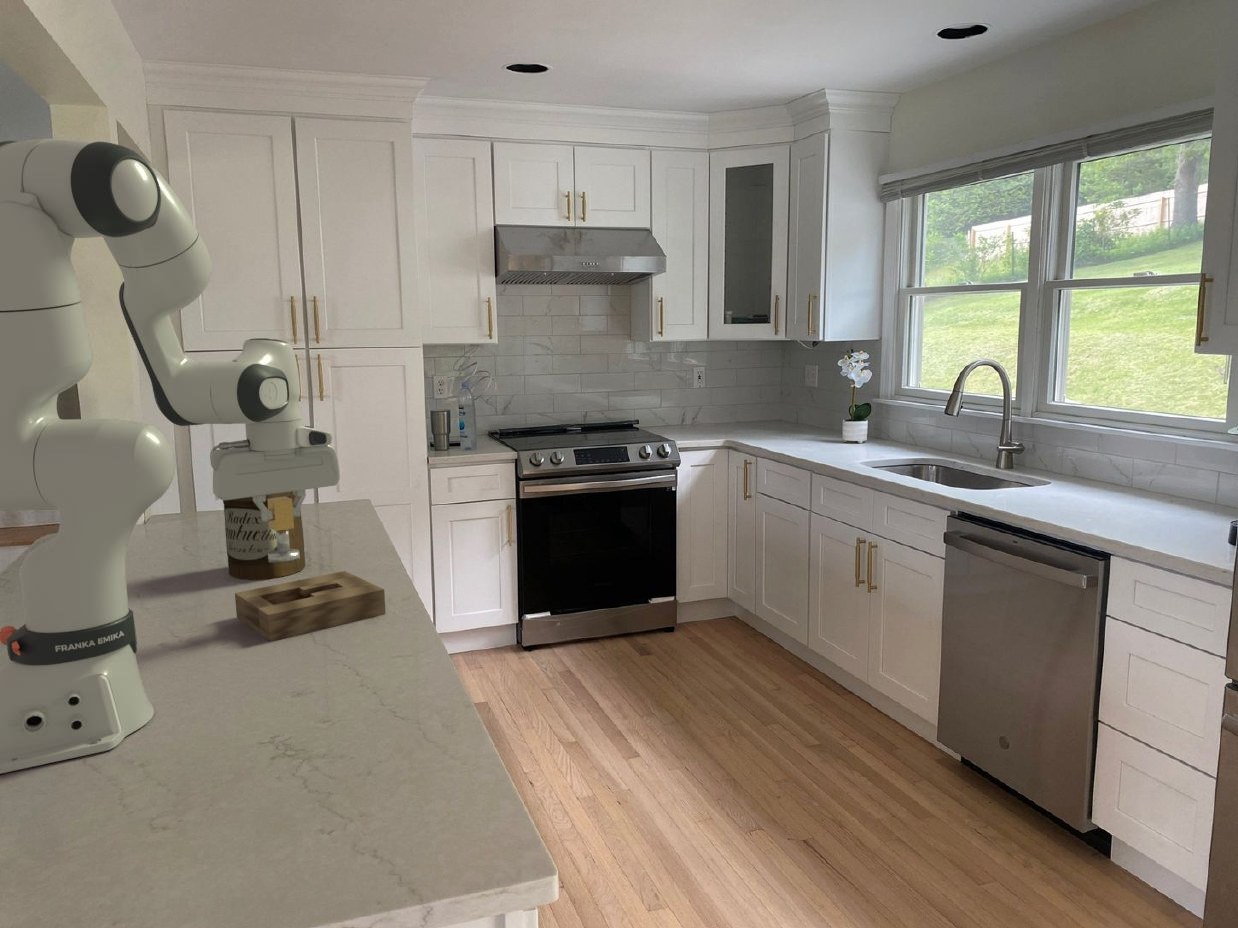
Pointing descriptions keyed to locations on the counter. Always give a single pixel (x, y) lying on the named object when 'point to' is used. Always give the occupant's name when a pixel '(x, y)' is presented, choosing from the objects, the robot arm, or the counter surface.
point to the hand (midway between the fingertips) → (281, 518)
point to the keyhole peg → (282, 530)
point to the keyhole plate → (309, 604)
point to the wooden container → (257, 540)
